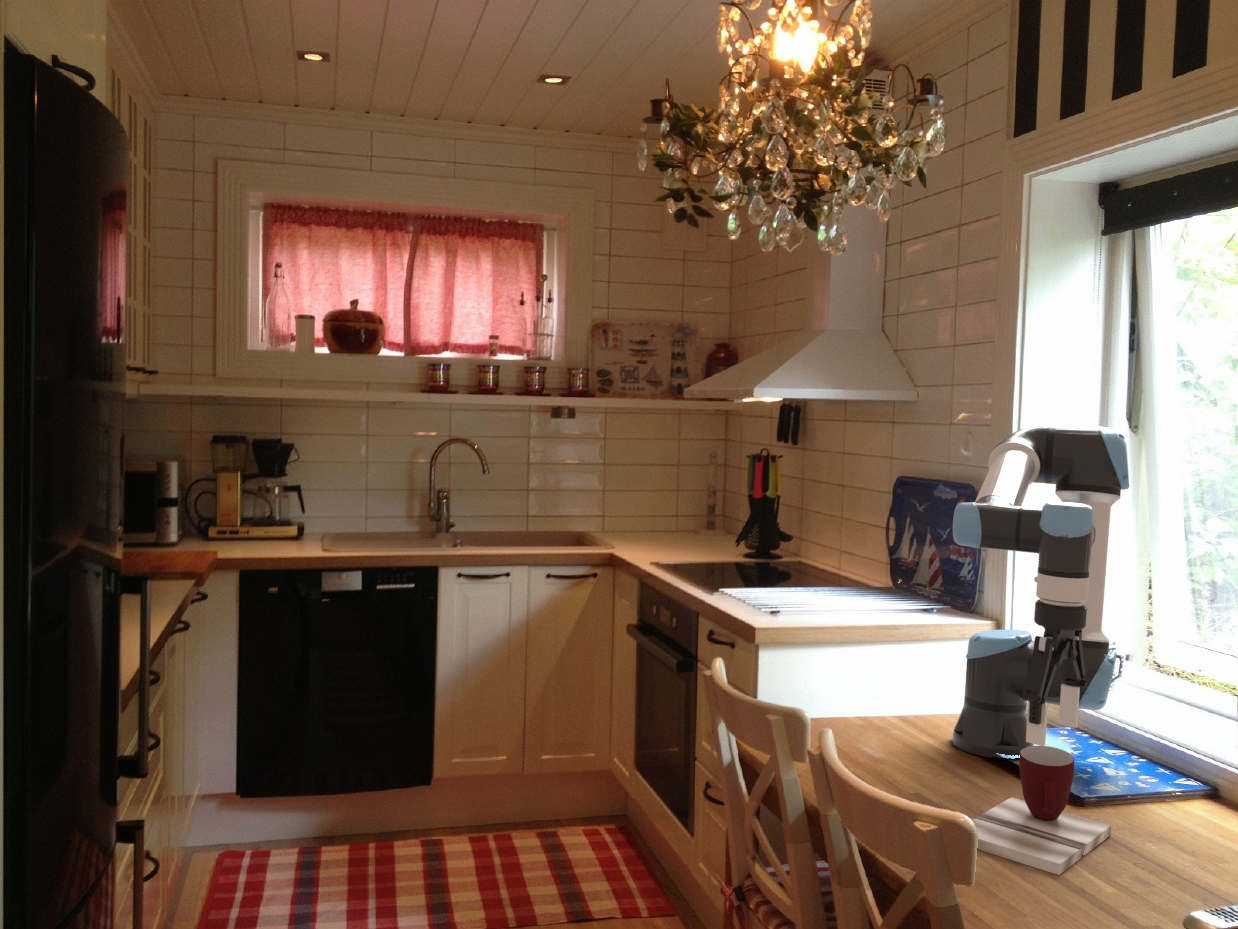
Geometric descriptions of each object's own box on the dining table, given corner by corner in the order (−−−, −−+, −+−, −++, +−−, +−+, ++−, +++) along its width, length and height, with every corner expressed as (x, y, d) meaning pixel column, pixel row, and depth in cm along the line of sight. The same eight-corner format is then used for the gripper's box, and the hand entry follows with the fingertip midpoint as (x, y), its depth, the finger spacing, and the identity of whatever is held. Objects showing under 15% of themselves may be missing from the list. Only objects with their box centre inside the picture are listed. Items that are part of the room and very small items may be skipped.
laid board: (977, 826, 171) (977, 816, 171) (1080, 858, 160) (1081, 847, 160) (952, 841, 164) (953, 830, 164) (1059, 875, 154) (1059, 863, 154)
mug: (1082, 836, 165) (1085, 774, 164) (1027, 833, 166) (1030, 772, 165) (1064, 805, 175) (1066, 746, 174) (1012, 803, 177) (1014, 744, 175)
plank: (1010, 806, 181) (1011, 796, 181) (1110, 835, 170) (1111, 824, 170) (980, 824, 172) (981, 814, 172) (1083, 856, 161) (1084, 845, 161)
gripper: (1065, 589, 181) (1057, 713, 182) (1005, 607, 162) (996, 745, 164) (1112, 596, 176) (1103, 723, 177) (1055, 615, 157) (1046, 758, 159)
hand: (1052, 734), depth 170 cm, fingers open, 13 cm apart
